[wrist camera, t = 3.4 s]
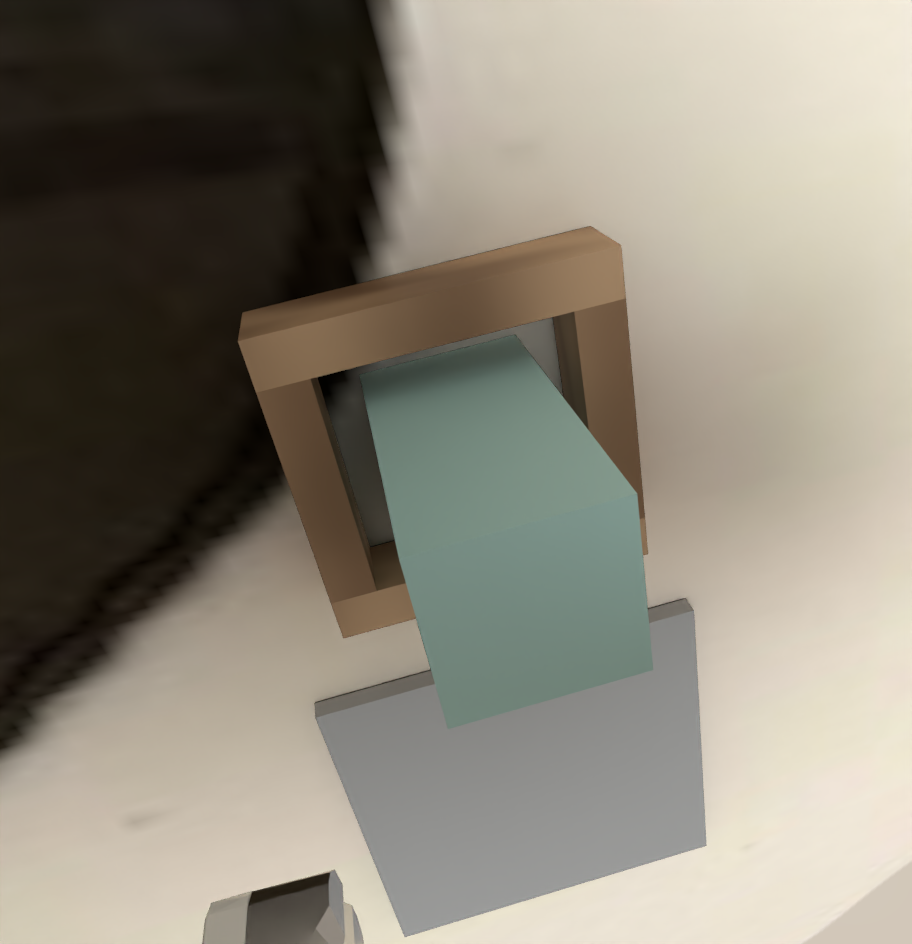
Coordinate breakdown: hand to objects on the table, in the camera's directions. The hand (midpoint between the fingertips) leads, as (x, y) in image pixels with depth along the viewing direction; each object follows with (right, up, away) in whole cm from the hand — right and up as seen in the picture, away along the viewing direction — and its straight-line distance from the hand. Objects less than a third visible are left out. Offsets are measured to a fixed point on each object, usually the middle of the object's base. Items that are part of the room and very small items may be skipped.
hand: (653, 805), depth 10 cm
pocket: (-3, +5, +11) cm, 12 cm away
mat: (0, -6, +18) cm, 19 cm away
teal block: (-3, +5, +11) cm, 12 cm away
